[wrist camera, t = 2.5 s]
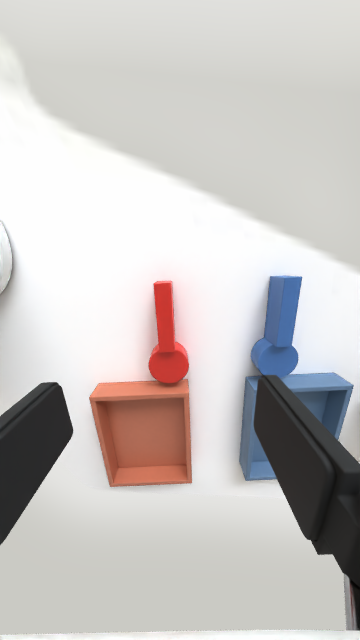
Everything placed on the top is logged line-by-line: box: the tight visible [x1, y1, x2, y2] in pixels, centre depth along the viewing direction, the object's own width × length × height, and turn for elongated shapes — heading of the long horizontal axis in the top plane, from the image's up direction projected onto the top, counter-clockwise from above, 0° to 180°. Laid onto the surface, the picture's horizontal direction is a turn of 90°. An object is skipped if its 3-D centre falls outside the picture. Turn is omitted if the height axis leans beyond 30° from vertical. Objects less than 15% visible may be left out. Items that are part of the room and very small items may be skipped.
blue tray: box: [239, 373, 354, 481], centre depth 22 cm, size 15×11×2 cm
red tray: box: [89, 379, 192, 487], centre depth 22 cm, size 15×11×2 cm
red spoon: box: [149, 281, 189, 383], centre depth 18 cm, size 11×4×3 cm, turn 3°
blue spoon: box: [251, 276, 302, 378], centre depth 18 cm, size 11×4×3 cm, turn 3°
